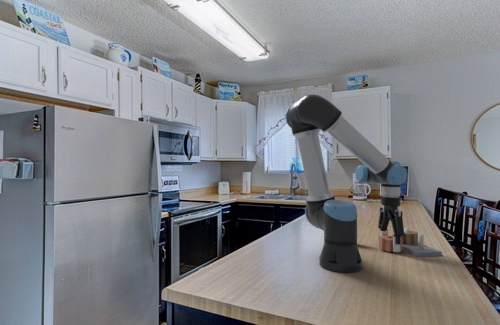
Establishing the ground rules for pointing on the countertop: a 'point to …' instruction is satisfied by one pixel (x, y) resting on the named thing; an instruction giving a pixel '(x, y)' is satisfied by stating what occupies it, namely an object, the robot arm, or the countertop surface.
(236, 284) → the countertop surface
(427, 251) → the gear board
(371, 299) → the countertop surface
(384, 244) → the gear
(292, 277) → the countertop surface
